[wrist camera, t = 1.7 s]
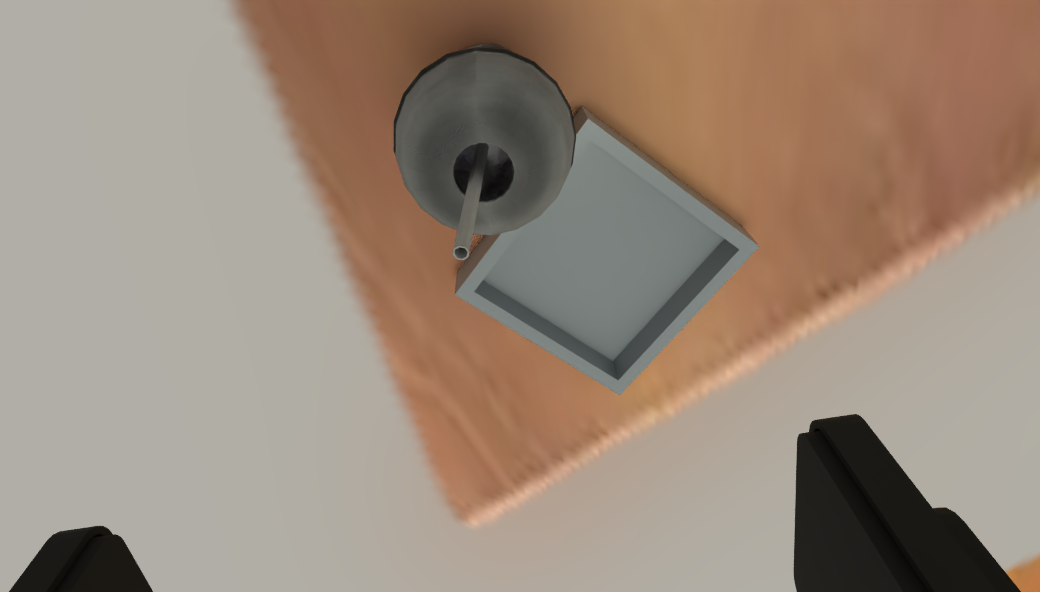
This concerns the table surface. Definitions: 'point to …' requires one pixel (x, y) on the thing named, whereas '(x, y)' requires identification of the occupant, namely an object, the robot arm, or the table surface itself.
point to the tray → (607, 261)
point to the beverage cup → (484, 141)
